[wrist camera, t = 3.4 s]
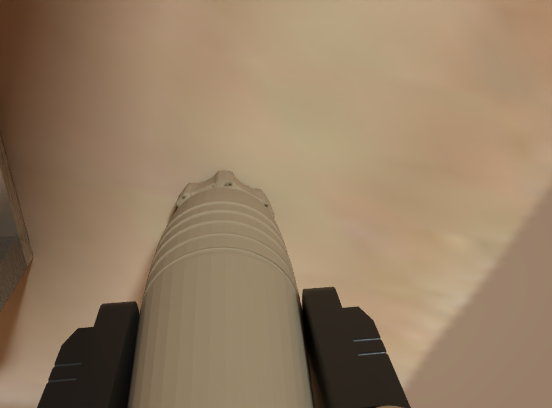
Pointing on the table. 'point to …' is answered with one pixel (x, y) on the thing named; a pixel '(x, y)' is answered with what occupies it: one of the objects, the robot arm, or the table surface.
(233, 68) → the table surface
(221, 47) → the table surface
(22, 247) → the guard frame
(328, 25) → the table surface
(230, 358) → the handle
